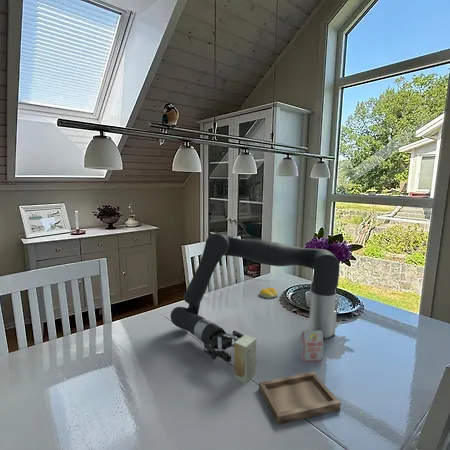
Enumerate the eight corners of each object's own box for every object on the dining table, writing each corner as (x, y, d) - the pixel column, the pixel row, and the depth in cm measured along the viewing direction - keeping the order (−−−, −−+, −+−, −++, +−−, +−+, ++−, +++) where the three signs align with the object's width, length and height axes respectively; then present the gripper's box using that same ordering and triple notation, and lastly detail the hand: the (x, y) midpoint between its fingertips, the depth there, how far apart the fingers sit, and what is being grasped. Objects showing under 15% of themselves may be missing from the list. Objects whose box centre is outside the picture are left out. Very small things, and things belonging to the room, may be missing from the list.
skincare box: (245, 368, 96) (245, 333, 94) (256, 373, 93) (257, 338, 92) (233, 378, 91) (233, 341, 89) (244, 384, 89) (245, 347, 87)
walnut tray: (313, 378, 92) (313, 371, 91) (340, 410, 79) (340, 402, 79) (258, 389, 87) (258, 382, 86) (278, 424, 74) (278, 416, 74)
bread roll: (257, 294, 157) (257, 287, 156) (271, 291, 161) (271, 284, 160) (265, 300, 150) (265, 292, 149) (280, 297, 153) (280, 290, 153)
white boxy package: (299, 355, 103) (300, 328, 102) (318, 354, 104) (319, 328, 102) (302, 361, 100) (304, 334, 98) (322, 361, 100) (324, 333, 99)
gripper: (192, 330, 100) (223, 351, 88) (224, 317, 109) (256, 335, 97) (192, 350, 101) (223, 374, 89) (224, 336, 110) (256, 356, 98)
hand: (240, 353), depth 93 cm, fingers open, 8 cm apart
